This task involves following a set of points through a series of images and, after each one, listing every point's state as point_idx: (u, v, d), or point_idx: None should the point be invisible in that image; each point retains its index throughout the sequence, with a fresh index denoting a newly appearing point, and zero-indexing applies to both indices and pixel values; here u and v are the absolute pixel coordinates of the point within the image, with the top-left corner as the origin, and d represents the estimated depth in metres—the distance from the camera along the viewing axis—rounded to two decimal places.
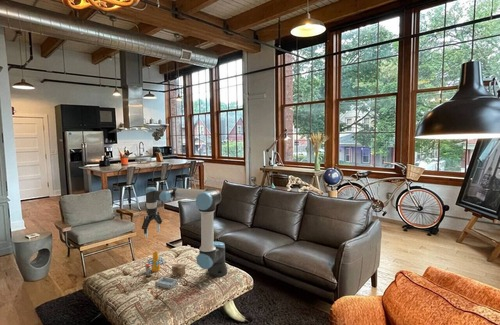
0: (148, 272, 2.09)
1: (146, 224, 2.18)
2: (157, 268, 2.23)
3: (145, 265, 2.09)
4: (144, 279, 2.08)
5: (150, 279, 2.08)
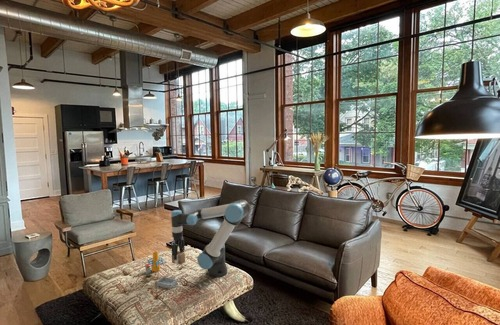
0: (148, 272, 2.09)
1: (175, 250, 2.12)
2: (157, 268, 2.23)
3: (145, 265, 2.09)
4: (144, 279, 2.08)
5: (150, 279, 2.08)
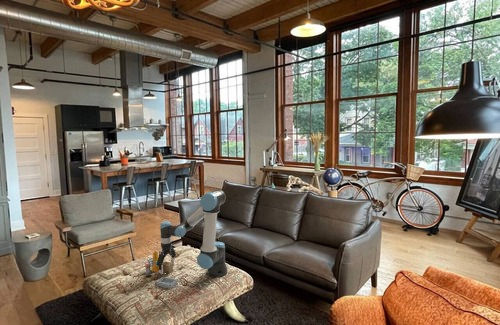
0: (148, 272, 2.09)
1: (161, 260, 2.15)
2: (157, 268, 2.23)
3: (145, 265, 2.09)
4: (144, 279, 2.08)
5: (150, 279, 2.08)
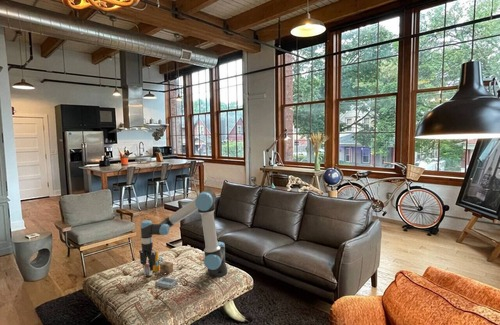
0: (148, 272, 2.09)
1: None
2: (157, 268, 2.23)
3: (145, 265, 2.09)
4: (144, 279, 2.08)
5: (150, 279, 2.08)
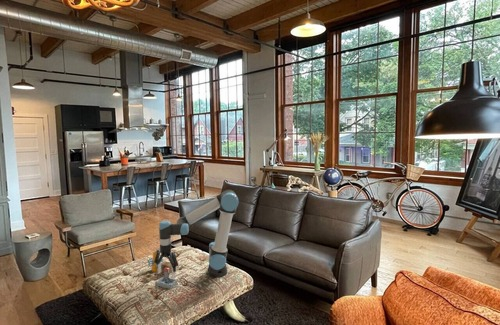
0: (167, 276, 2.01)
1: None
2: (157, 268, 2.23)
3: (164, 269, 2.01)
4: (144, 279, 2.08)
5: (150, 279, 2.08)
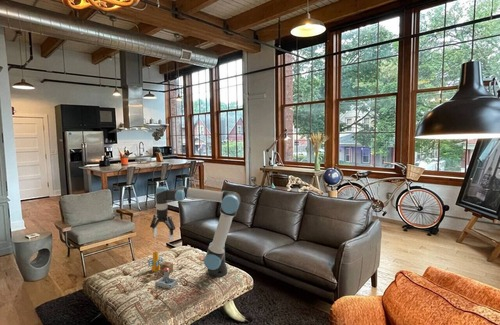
0: (167, 276, 2.01)
1: None
2: (157, 268, 2.23)
3: (163, 269, 2.01)
4: (144, 279, 2.08)
5: (150, 279, 2.08)
